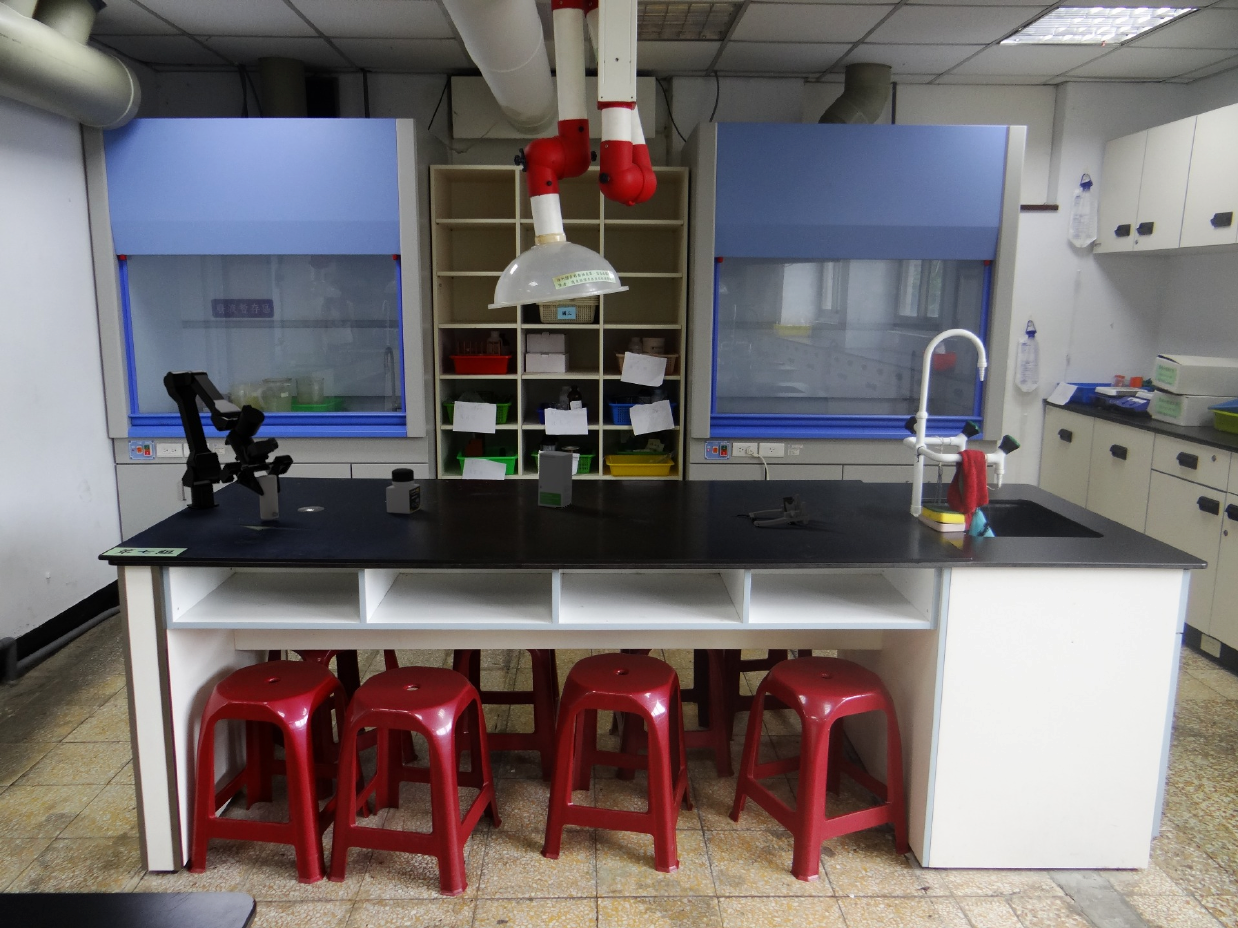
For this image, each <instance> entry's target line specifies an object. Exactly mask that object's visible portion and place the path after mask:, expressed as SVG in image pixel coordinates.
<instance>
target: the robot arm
mask: <svg viewBox="0 0 1238 928" xmlns="http://www.w3.org/2000/svg"><path fill="white" fill-rule="evenodd" d="M162 379H163V386H164V387H165V389H166V393H167V394H168V397H170V398H171V399H172V400H173V401H174V402H175V403H176V405H177V409H178V413H179V417H180V420H181V424H182V428H183V431H184V435H185V438H186V443H187V444H186V445H187V447H188V451H189V454H188V457H187V458H186V462H185V464H186V470H185V472H184V473H183V475H182V477H181V483H182V486H183V487H185V488H189V489H190V499H191V503H187V504H186V507H187V508H192V509H196V510H201V509H206V508H211V507H216V506H217V507H218V506H220V503H219V502H215V491H214V485H219V484H220V483H222V484H223V485H224V484H225V485H226V484H230V483H234V481H235V484H237V485H239V484H240V486H243V487H245V488H248V489H249V490H251V491H252V492H254V493H256V494H258V496H259V495H260V496H263V495H264V492H263V489H262V487H261V486H260V484H259V480H258V479H257V478H256V475H255V473H259V472H265V473H266V475H276V477H277V494H279V493H281V482H280V476H281V475H286V474H287V473H288V471H289V469H290V468H291V467H292V465H293V463H294V459H293V458H292V456H291V455H290V454H281V455H275V457H274V458H273V460H272V461H267V460H269V459H270V455H269V454H271V453H273V452H275V451H276V450H278V449H279V446H280V445H279V443H278V440H277V439H276V438H275V436H274V437H268V438H267V439H264V440H257V441H255V440H254V438H253V437H254V436H257V434H258V432H259V430H260V428H261V427H262V425H263V423H264V422H265V420H266V415H265V413H264V412H263V411H262V410H260V409H258V408H256V407H253V406H252V405H251V404H249V403H248V404H243V405H242V407H241V409H240V408H239V407H238V406H237V405H236V404H234V403H232V402H230V401H227V400H226V398H225V397H224V396H223V395H222V393H221V392H220V390H218V388H217V387H216V386H215V385H214V383H213V382H212V381H211V379H210V378H209V375H208V373H207V371H206V370H203V369H197V370H196V369H195V370H176V371H175V370H173V371H168V372H167V373H166V375H164V376H163V378H162ZM197 397H198V398H199V399H200V400H201V402H203V404H204V405H205V406H206V408H207V409H208V411H209V412H210V421H211V423H212V425H213V427H214V429H215V430H216V431H217V432H218V433H219V432H220V433H221V432H223V433H224V432H228V434H227V435H225V437H226V438H225V440H224V446H230V447H231V448H232V450H233V452H234V454H235V457H234V460H235V461H230V462H226V463H225V464H224V465H223V467H222V464H221V462H220V460H219V455H218V452H216V451H212V450H211V449H210V448H209V446H208V441H207V439H206V435H205V430H204V427H203V423H202V419H201V414H200V412H199V411H200V410H199V407H198V404H197ZM235 477H236V480H235ZM260 496H259V497H260Z"/></svg>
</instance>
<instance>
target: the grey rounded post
mask: <svg viewBox="0 0 1238 928" xmlns="http://www.w3.org/2000/svg"><path fill="white" fill-rule="evenodd" d="M257 477H258V479H257V481H258V482H259V484H260V486H261V487H262V489H263V492H264V495H263V496H260V495H259V494H258V496H259V510H260V511H259V512H260V519H262V520H273V519H274V520H275V519H278V518H279V517H280V516H279V500H278V499H279V498H278V497H279V495H278V493H277V477H276V475H267V474H263V475H259V476H257Z"/></svg>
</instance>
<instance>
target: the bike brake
mask: <svg viewBox="0 0 1238 928" xmlns="http://www.w3.org/2000/svg"><path fill="white" fill-rule="evenodd" d="M782 501H783V504H781V505H780V507H781V508H779V509H767V510H761V511H755V512H753V511H752V512H749V513H748V514H736V515H737V516H746V517H745V518H749V517H750V518H751V520H750V521H751V522H752V524H754V525H756V526H759V527H765V526H766V527H767V526H773V525H779V524H784V523H797V524H798V521H801V522H802V523H803V524H804V525H808V523H809V521H810V520H811V514H807V506H806V505H807V504H806V501H802V502H801V499H800V494H798V493H797V494H795V499H793V496H788V497H787V496H785V497H782ZM795 501H796V502H795ZM767 515H783V517H780V518H775V519H770V520H764V521H763V520H762V521H761V520H757V519H756V518H755V517H761V516H767ZM750 518H749V519H750Z"/></svg>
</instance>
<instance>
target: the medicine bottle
mask: <svg viewBox="0 0 1238 928" xmlns="http://www.w3.org/2000/svg"><path fill="white" fill-rule="evenodd" d="M391 484H392V485H390V486H387V487H386V488H385V495H386V512H387V513H389V514H390V513H392V514H407V515H408V514H410V515H411V514H412V513H414V512H416V511H418V510H420V509H421V485H420V484H419V483H415V473H414V469H412V468H409V467H398V468H395V469H393V470H392V471H391Z"/></svg>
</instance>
